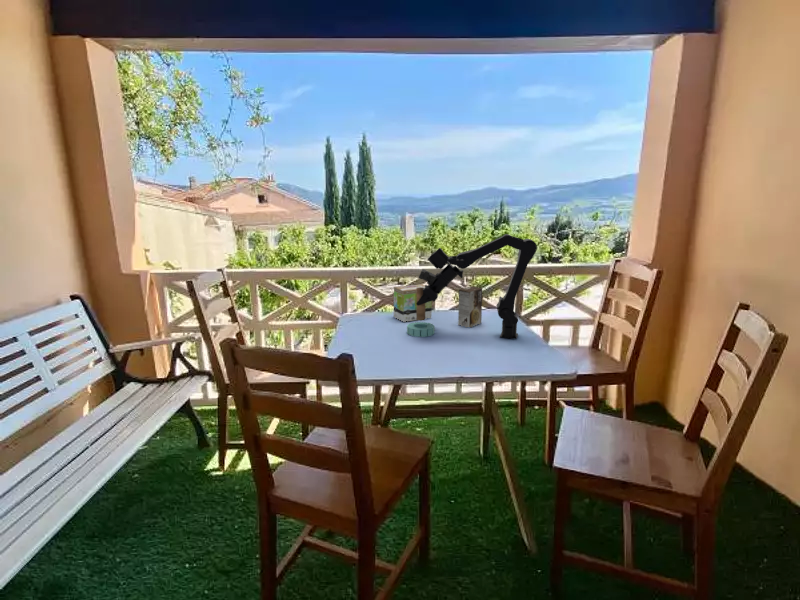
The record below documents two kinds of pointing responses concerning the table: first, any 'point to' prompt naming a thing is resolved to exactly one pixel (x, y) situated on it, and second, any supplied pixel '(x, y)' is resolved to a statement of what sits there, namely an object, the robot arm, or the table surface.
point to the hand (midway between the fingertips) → (417, 303)
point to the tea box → (408, 303)
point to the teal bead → (420, 329)
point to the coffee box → (470, 306)
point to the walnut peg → (421, 307)
